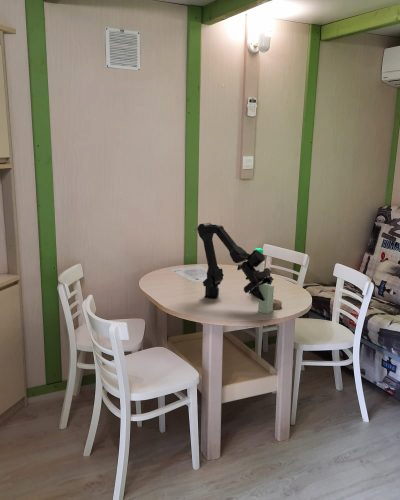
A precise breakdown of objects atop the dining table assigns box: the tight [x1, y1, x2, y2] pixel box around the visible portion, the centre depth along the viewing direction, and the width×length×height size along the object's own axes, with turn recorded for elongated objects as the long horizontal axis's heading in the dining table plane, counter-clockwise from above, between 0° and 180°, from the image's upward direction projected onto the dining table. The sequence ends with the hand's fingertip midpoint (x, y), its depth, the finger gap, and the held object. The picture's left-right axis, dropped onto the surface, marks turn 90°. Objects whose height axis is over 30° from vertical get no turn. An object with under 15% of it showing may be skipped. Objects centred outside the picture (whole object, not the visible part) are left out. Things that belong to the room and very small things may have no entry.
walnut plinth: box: [273, 298, 283, 310], centre depth 237 cm, size 8×8×2 cm
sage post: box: [257, 284, 275, 315], centre depth 229 cm, size 5×5×13 cm
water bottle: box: [254, 247, 266, 272], centre depth 256 cm, size 7×7×25 cm
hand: (268, 298), depth 228 cm, fingers open, 8 cm apart
